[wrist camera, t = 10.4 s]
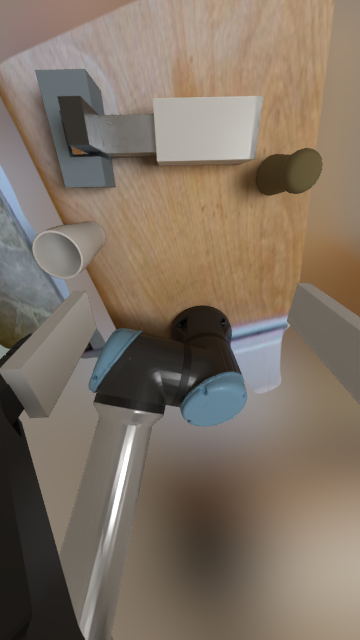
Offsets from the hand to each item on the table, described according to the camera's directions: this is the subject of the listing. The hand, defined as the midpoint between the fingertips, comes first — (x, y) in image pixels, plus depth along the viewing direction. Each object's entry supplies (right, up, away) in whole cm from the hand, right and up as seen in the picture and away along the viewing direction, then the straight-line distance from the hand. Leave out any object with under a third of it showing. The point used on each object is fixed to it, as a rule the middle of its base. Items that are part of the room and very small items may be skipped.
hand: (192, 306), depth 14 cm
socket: (-14, +28, +21) cm, 38 cm away
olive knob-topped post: (+16, +25, +24) cm, 38 cm away
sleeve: (+3, +28, +21) cm, 35 cm away
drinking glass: (-18, +16, +28) cm, 37 cm away
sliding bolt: (-7, +27, +19) cm, 34 cm away
